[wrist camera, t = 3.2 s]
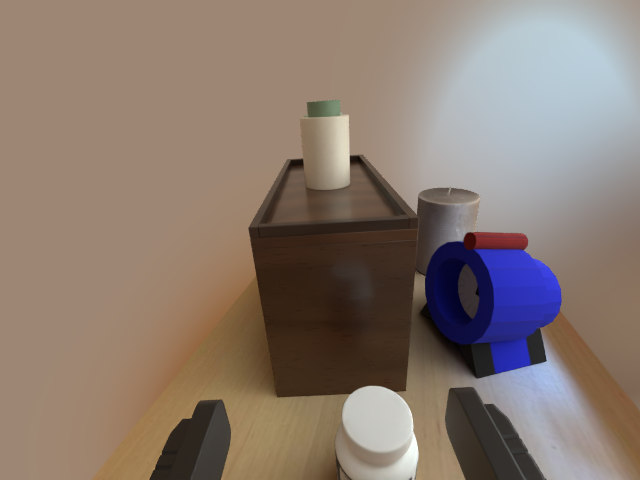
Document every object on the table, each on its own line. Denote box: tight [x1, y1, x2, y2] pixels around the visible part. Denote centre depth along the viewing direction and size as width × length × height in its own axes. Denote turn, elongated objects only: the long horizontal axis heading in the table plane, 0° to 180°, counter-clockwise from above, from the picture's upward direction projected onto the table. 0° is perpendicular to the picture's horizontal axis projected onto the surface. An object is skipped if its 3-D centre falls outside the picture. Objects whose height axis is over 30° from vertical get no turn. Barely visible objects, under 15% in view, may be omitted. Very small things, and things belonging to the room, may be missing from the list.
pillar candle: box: [415, 187, 480, 275], centre depth 53 cm, size 10×10×15 cm
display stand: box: [249, 155, 419, 397], centre depth 44 cm, size 34×14×20 cm, turn 0°
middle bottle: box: [300, 100, 350, 190], centre depth 38 cm, size 6×6×10 cm
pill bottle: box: [335, 386, 418, 480], centre depth 22 cm, size 6×6×10 cm
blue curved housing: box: [420, 232, 561, 378], centre depth 37 cm, size 12×12×15 cm
